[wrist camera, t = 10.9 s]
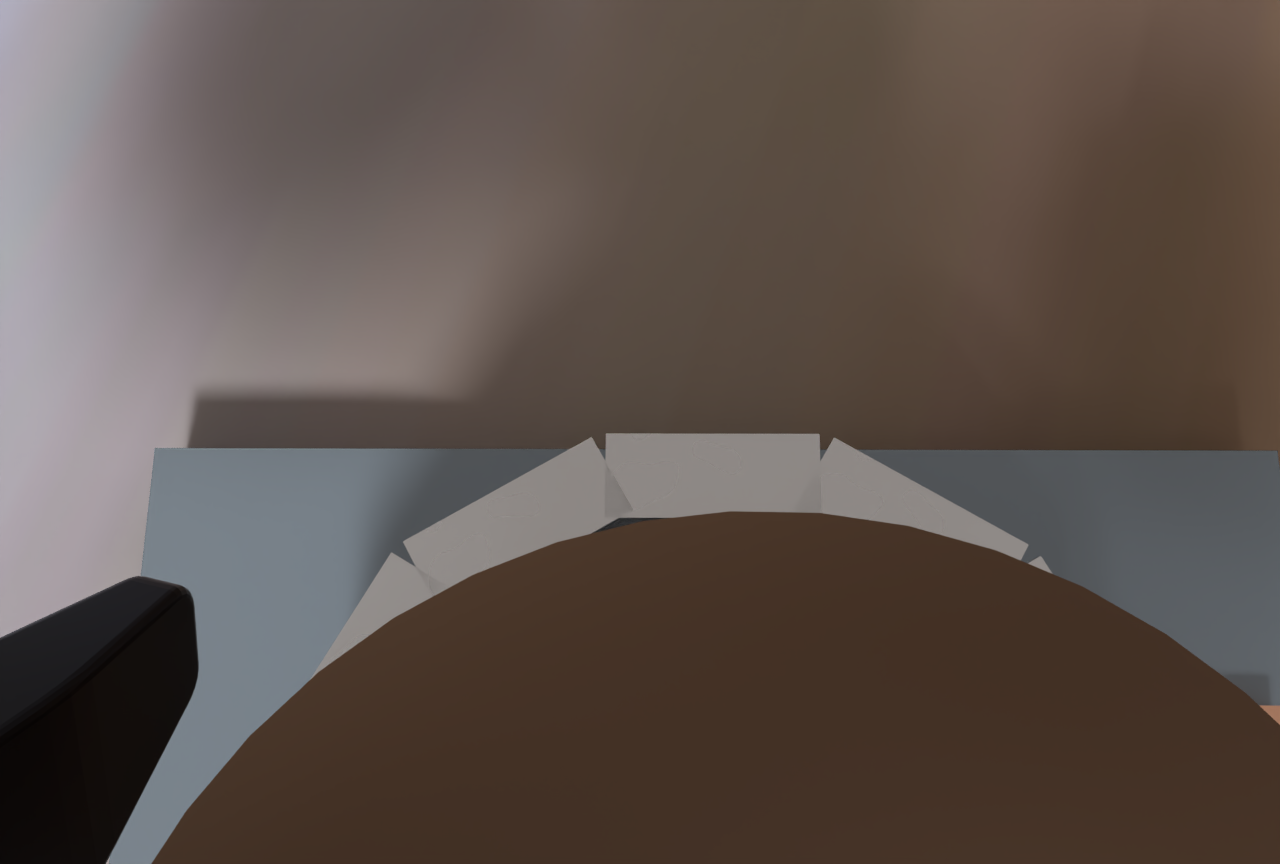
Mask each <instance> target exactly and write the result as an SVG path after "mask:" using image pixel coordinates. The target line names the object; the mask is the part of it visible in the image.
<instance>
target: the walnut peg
mask: <svg viewBox="0 0 1280 864" xmlns="http://www.w3.org/2000/svg"><path fill="white" fill-rule="evenodd" d="M151 864H1280V725H1279V724H1278V723H1277V722H1276V721H1275V720H1274V719H1273V718H1272V717H1271V716H1270V715H1269V714H1268V713H1267V712H1266V711H1264V710H1263V709H1262V708H1261V707H1260V706H1259V705H1258V704H1257V703H1256V702H1255V701H1254V700H1253V699H1252V698H1251V697H1250V696H1249V695H1247V694H1246V693H1245V692H1244V691H1242V690H1241V689H1240V688H1238V687H1237V686H1236V685H1234V684H1233V683H1232V682H1230V681H1229V680H1228V679H1226V678H1225V677H1224V676H1222V675H1221V674H1220V673H1218V672H1217V671H1215V670H1214V669H1213V668H1211V667H1210V666H1209V665H1207V664H1206V663H1205V662H1203V661H1202V660H1201V659H1199V658H1198V657H1197V656H1195V655H1194V654H1192V653H1191V652H1190V651H1188V650H1187V649H1186V648H1184V647H1183V646H1182V645H1180V644H1179V643H1178V642H1176V641H1175V640H1174V639H1172V638H1171V637H1170V636H1168V635H1167V634H1165V633H1163V632H1162V631H1160V630H1158V629H1156V628H1155V627H1153V626H1151V625H1149V624H1148V623H1146V622H1144V621H1142V620H1141V619H1139V618H1137V617H1135V616H1134V615H1132V614H1130V613H1128V612H1127V611H1125V610H1123V609H1121V608H1120V607H1118V606H1116V605H1114V604H1113V603H1111V602H1109V601H1107V600H1106V599H1104V598H1102V597H1100V596H1099V595H1097V594H1095V593H1093V592H1092V591H1090V590H1088V589H1086V588H1084V587H1083V586H1080V585H1078V584H1076V583H1073V582H1071V581H1068V580H1066V579H1064V578H1061V577H1059V576H1056V575H1054V574H1052V573H1049V572H1047V571H1044V570H1042V569H1040V568H1037V567H1035V566H1033V565H1030V564H1028V563H1025V562H1023V561H1021V560H1018V559H1016V558H1013V557H1011V556H1009V555H1006V554H1004V553H1001V552H999V551H997V550H993V549H990V548H986V547H982V546H979V545H975V544H972V543H968V542H964V541H961V540H957V539H954V538H950V537H947V536H943V535H939V534H936V533H932V532H929V531H925V530H921V529H918V528H914V527H911V526H906V525H899V524H892V523H886V522H879V521H872V520H865V519H858V518H851V517H845V516H838V515H831V514H824V513H802V512H744V511H728V512H719V513H710V514H702V515H693V516H684V517H675V518H666V519H657V520H648V521H641V522H637V523H633V524H629V525H625V526H621V527H617V528H613V529H608V530H604V531H600V532H596V533H592V534H588V535H584V536H580V537H576V538H572V539H568V540H564V541H560V542H556V543H553V544H551V545H548V546H546V547H543V548H541V549H538V550H535V551H533V552H530V553H528V554H525V555H522V556H520V557H517V558H515V559H512V560H510V561H507V562H504V563H502V564H499V565H497V566H494V567H492V568H489V569H486V570H484V571H481V572H479V573H476V574H474V575H472V576H470V577H468V578H466V579H464V580H462V581H461V582H459V583H457V584H455V585H453V586H451V587H450V588H448V589H446V590H444V591H442V592H440V593H439V594H437V595H435V596H433V597H431V598H429V599H427V600H426V601H424V602H422V603H420V604H418V605H416V606H415V607H413V608H411V609H409V610H407V611H405V612H404V613H402V614H400V615H398V616H396V617H394V618H393V619H391V620H390V621H389V622H387V623H386V624H384V625H383V626H382V627H380V628H379V629H378V630H376V631H375V632H373V633H372V634H371V635H369V636H368V637H366V638H365V639H364V640H362V641H361V642H359V643H358V644H357V645H355V646H354V647H353V648H351V649H350V650H348V651H347V652H346V653H344V654H343V655H341V656H340V657H339V658H337V659H336V660H334V661H333V662H332V663H330V664H329V665H328V666H326V667H325V668H323V669H322V670H321V671H319V672H318V673H317V674H316V675H315V676H314V677H313V678H312V679H310V680H309V681H308V682H307V683H306V684H305V685H304V686H303V687H302V688H301V689H300V690H299V691H298V692H296V693H295V694H294V695H293V696H292V697H291V698H290V699H289V700H288V701H287V702H286V703H285V704H283V705H282V706H281V707H280V708H279V709H278V710H277V711H276V712H275V713H274V714H273V715H272V716H271V717H269V718H268V719H267V720H266V721H265V722H264V723H263V724H262V725H261V726H260V727H259V728H258V729H257V730H255V731H254V732H253V733H252V734H251V735H250V736H249V737H248V738H247V739H246V741H245V742H244V743H243V744H242V745H241V747H240V748H239V749H238V750H237V751H236V752H235V754H234V755H233V756H232V757H231V758H230V760H229V761H228V762H227V763H226V764H225V765H224V767H223V768H222V769H221V770H220V771H219V773H218V774H217V775H216V776H215V777H214V778H213V780H212V781H211V782H210V783H209V784H208V786H207V787H206V788H205V789H204V790H203V791H202V793H201V794H200V795H199V796H198V797H197V799H196V800H195V801H194V802H193V803H192V804H191V806H190V807H189V808H188V809H187V810H186V812H185V813H184V815H183V816H182V818H181V819H180V821H179V823H178V824H177V826H176V827H175V829H174V830H173V832H172V833H171V835H170V836H169V838H168V839H167V841H166V842H165V844H164V845H163V847H162V848H161V850H160V851H159V853H158V854H157V856H156V857H155V859H154V860H153V862H152V863H151Z"/></svg>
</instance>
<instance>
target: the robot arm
mask: <svg viewBox="0 0 1280 864" xmlns="http://www.w3.org/2000/svg"><path fill="white" fill-rule="evenodd" d="M198 672H199V659H198V645H197V632H196V618H195V605H194V600H193V596H192V594H191V592H190V591H189V590H188V589H187V588H185V587H183V586H182V585H178V584H174V583H170V582H166V581H162V580H158V579H153V578H149V577H145V576H136V577H132V578H129V579H126V580H124V581H122V582H119V583H117V584H115V585H113V586H111V587H109V588H107V589H104V590H102V591H100V592H98V593H96V594H94V595H91V596H89V597H87V598H85V599H83V600H81V601H78V602H76V603H74V604H72V605H70V606H68V607H66V608H63V609H61V610H59V611H57V612H55V613H53V614H50V615H48V616H46V617H44V618H42V619H40V620H37V621H35V622H33V623H31V624H29V625H27V626H25V627H22V628H20V629H18V630H16V631H14V632H12V633H9V634H7V635H5V636H3V637H1V638H0V864H106V862H107V860H108V858H109V857H110V855H111V853H112V851H113V849H114V847H115V846H116V844H117V842H118V840H119V838H120V836H121V834H122V832H123V830H124V828H125V826H126V824H127V822H128V820H129V818H130V816H131V815H132V813H133V811H134V809H135V807H136V805H137V803H138V801H139V799H140V797H141V795H142V793H143V791H144V789H145V787H146V785H147V783H148V781H149V779H150V778H151V776H152V774H153V772H154V770H155V768H156V766H157V764H158V762H159V760H160V758H161V756H162V754H163V752H164V750H165V748H166V746H167V744H168V743H169V741H170V739H171V737H172V735H173V733H174V731H175V729H176V727H177V725H178V723H179V721H180V719H181V717H182V715H183V713H184V711H185V709H186V708H187V706H188V704H189V702H190V700H191V697H192V695H193V692H194V690H195V687H196V683H197V679H198Z"/></svg>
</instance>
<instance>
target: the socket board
mask: <svg viewBox="0 0 1280 864" xmlns="http://www.w3.org/2000/svg"><path fill="white" fill-rule="evenodd" d="M728 511H744V512H802V513H824V514H831V515H838V516H845V517H851V518H858V519H865V520H872V521H879V522H886V523H892V524H899V525H906V526H911V527H914V528H918V529H921V530H925V531H929V532H932V533H936V534H939V535H943V536H947V537H950V538H954V539H957V540H961V541H964V542H968V543H972V544H975V545H979V546H982V547H986V548H990V549H993V550H997V551H999V552H1001V553H1004V554H1006V555H1009V556H1011V557H1013V558H1016V559H1018V560H1021V561H1023V562H1025V563H1028V564H1030V565H1033V566H1035V567H1037V568H1040V569H1042V570H1044V571H1047V572H1049V573H1052V574H1054V575H1056V576H1059V577H1061V578H1064V579H1066V580H1068V581H1071V582H1073V583H1076V584H1078V585H1080V586H1083V587H1084V588H1086V589H1088V590H1090V591H1092V592H1093V593H1095V594H1097V595H1099V596H1100V597H1102V598H1104V599H1106V600H1107V601H1109V602H1111V603H1113V604H1114V605H1116V606H1118V607H1120V608H1121V609H1123V610H1125V611H1127V612H1128V613H1130V614H1132V615H1134V616H1135V617H1137V618H1139V619H1141V620H1142V621H1144V622H1146V623H1148V624H1149V625H1151V626H1153V627H1155V628H1156V629H1158V630H1160V631H1162V632H1163V633H1165V634H1167V635H1168V636H1170V637H1171V638H1172V639H1174V640H1175V641H1176V642H1178V643H1179V644H1180V645H1182V646H1183V647H1184V648H1186V649H1187V650H1188V651H1190V652H1191V653H1192V654H1194V655H1195V656H1197V657H1198V658H1199V659H1201V660H1202V661H1203V662H1205V663H1206V664H1207V665H1209V666H1210V667H1211V668H1213V669H1214V670H1215V671H1217V672H1218V673H1220V674H1221V675H1222V676H1224V677H1225V678H1226V679H1228V680H1229V681H1230V682H1232V683H1233V684H1234V685H1236V686H1237V687H1238V688H1240V689H1241V690H1242V691H1244V692H1245V693H1246V694H1247V695H1249V696H1250V697H1251V698H1252V699H1253V700H1254V701H1255V702H1256V703H1257V704H1258V705H1259V706H1260V707H1261V708H1262V709H1263V710H1264V711H1266V712H1267V713H1268V714H1269V715H1270V716H1271V717H1272V718H1273V719H1274V720H1275V721H1276V722H1277V723H1278V724H1279V725H1280V468H1279V460H1278V451H1204V450H856V449H854V448H853V447H851V446H849V445H847V444H845V443H843V442H842V441H840V440H838V439H836V438H833V440H832V442H831V444H830V445H829V447H828V449H827V450H820V434H660V433H606V449H598V447H597V445H596V444H595V442H594V440H593V438H592V437H590V438H589V439H587V440H585V441H583V442H581V443H580V444H578V445H576V446H574V447H572V448H571V449H360V448H155V452H154V461H153V470H152V479H151V488H150V497H149V506H148V515H147V524H146V533H145V542H144V551H143V560H142V569H141V576H145V577H149V578H153V579H158V580H162V581H166V582H170V583H174V584H178V585H182V586H183V587H185V588H187V589H188V590H189V591H190V592H191V594H192V596H193V600H194V605H195V618H196V632H197V645H198V659H199V672H198V679H197V683H196V687H195V690H194V692H193V695H192V697H191V700H190V702H189V704H188V706H187V708H186V709H185V711H184V713H183V715H182V717H181V719H180V721H179V723H178V725H177V727H176V729H175V731H174V733H173V735H172V737H171V739H170V741H169V743H168V744H167V746H166V748H165V750H164V752H163V754H162V756H161V758H160V760H159V762H158V764H157V766H156V768H155V770H154V772H153V774H152V776H151V778H150V779H149V781H148V783H147V785H146V787H145V789H144V791H143V793H142V795H141V797H140V799H139V801H138V803H137V805H136V807H135V809H134V811H133V813H132V815H131V816H130V818H129V820H128V822H127V824H126V826H125V828H124V830H123V832H122V834H121V836H120V838H119V840H118V842H117V844H116V846H115V847H114V849H113V851H112V853H111V855H110V860H109V864H151V863H152V862H153V860H154V859H155V857H156V856H157V854H158V853H159V851H160V850H161V848H162V847H163V845H164V844H165V842H166V841H167V839H168V838H169V836H170V835H171V833H172V832H173V830H174V829H175V827H176V826H177V824H178V823H179V821H180V819H181V818H182V816H183V815H184V813H185V812H186V810H187V809H188V808H189V807H190V806H191V804H192V803H193V802H194V801H195V800H196V799H197V797H198V796H199V795H200V794H201V793H202V791H203V790H204V789H205V788H206V787H207V786H208V784H209V783H210V782H211V781H212V780H213V778H214V777H215V776H216V775H217V774H218V773H219V771H220V770H221V769H222V768H223V767H224V765H225V764H226V763H227V762H228V761H229V760H230V758H231V757H232V756H233V755H234V754H235V752H236V751H237V750H238V749H239V748H240V747H241V745H242V744H243V743H244V742H245V741H246V739H247V738H248V737H249V736H250V735H251V734H252V733H253V732H254V731H255V730H257V729H258V728H259V727H260V726H261V725H262V724H263V723H264V722H265V721H266V720H267V719H268V718H269V717H271V716H272V715H273V714H274V713H275V712H276V711H277V710H278V709H279V708H280V707H281V706H282V705H283V704H285V703H286V702H287V701H288V700H289V699H290V698H291V697H292V696H293V695H294V694H295V693H296V692H298V691H299V690H300V689H301V688H302V687H303V686H304V685H305V684H306V683H307V682H308V681H309V680H310V679H312V678H313V677H314V676H315V675H316V674H317V673H318V672H319V671H321V670H322V669H323V668H325V667H326V666H328V665H329V664H330V663H332V662H333V661H334V660H336V659H337V658H339V657H340V656H341V655H343V654H344V653H346V652H347V651H348V650H350V649H351V648H353V647H354V646H355V645H357V644H358V643H359V642H361V641H362V640H364V639H365V638H366V637H368V636H369V635H371V634H372V633H373V632H375V631H376V630H378V629H379V628H380V627H382V626H383V625H384V624H386V623H387V622H389V621H390V620H391V619H393V618H394V617H396V616H398V615H400V614H402V613H404V612H405V611H407V610H409V609H411V608H413V607H415V606H416V605H418V604H420V603H422V602H424V601H426V600H427V599H429V598H431V597H433V596H435V595H437V594H439V593H440V592H442V591H444V590H446V589H448V588H450V587H451V586H453V585H455V584H457V583H459V582H461V581H462V580H464V579H466V578H468V577H470V576H472V575H474V574H476V573H479V572H481V571H484V570H486V569H489V568H492V567H494V566H497V565H499V564H502V563H504V562H507V561H510V560H512V559H515V558H517V557H520V556H522V555H525V554H528V553H530V552H533V551H535V550H538V549H541V548H543V547H546V546H548V545H551V544H553V543H556V542H560V541H564V540H568V539H572V538H576V537H580V536H584V535H588V534H592V533H596V532H600V531H604V530H608V529H613V528H617V527H621V526H625V525H629V524H633V523H637V522H641V521H648V520H657V519H666V518H675V517H684V516H693V515H702V514H710V513H719V512H728Z"/></svg>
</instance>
